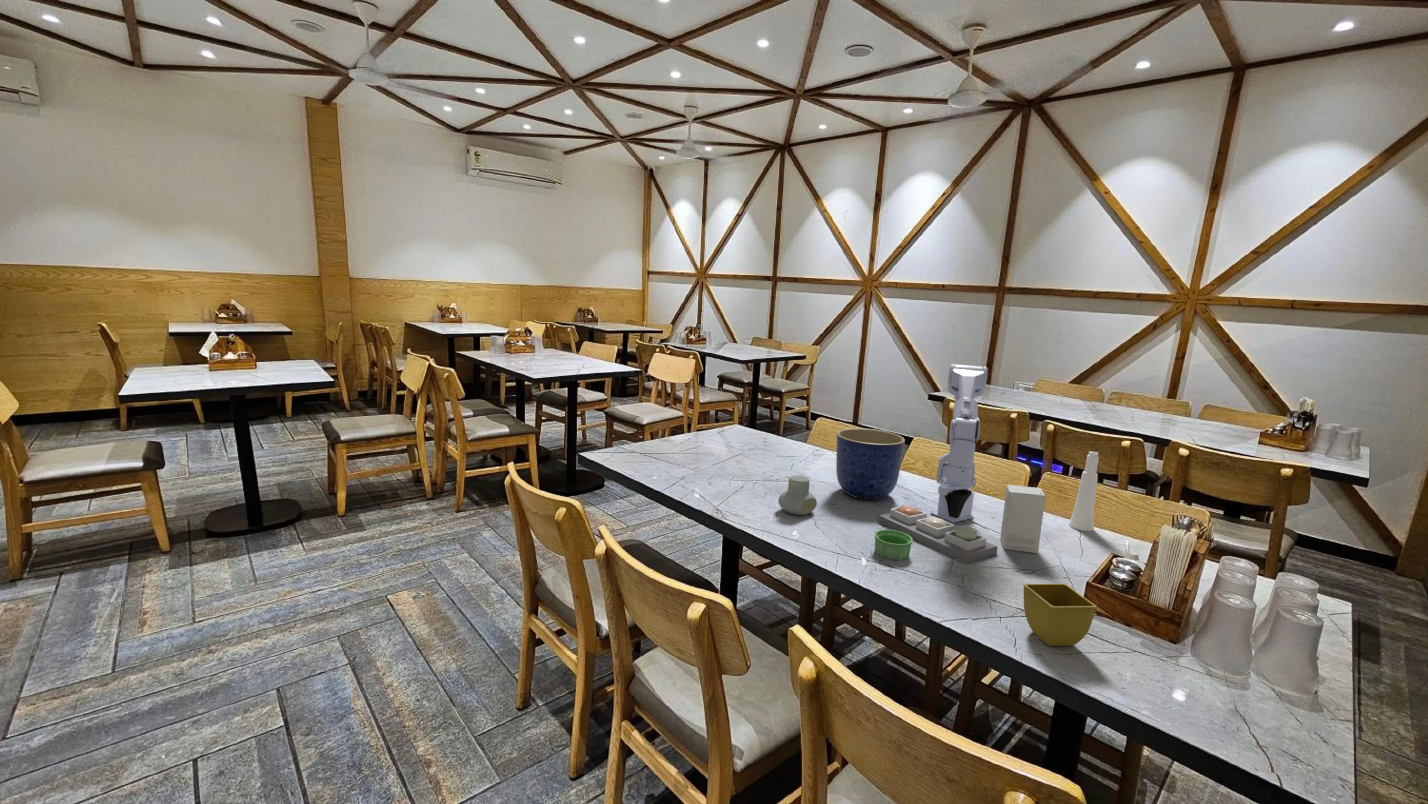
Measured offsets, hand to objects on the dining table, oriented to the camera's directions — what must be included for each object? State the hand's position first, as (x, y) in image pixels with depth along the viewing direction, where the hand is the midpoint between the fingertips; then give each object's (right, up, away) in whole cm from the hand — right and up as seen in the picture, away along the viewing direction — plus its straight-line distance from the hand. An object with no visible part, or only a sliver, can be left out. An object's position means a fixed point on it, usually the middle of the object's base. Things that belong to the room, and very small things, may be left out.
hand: (953, 516), depth 149 cm
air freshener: (-37, -3, +20) cm, 42 cm away
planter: (-13, 0, +38) cm, 40 cm away
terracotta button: (-7, -3, +13) cm, 15 cm away
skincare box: (+17, -8, +2) cm, 19 cm away
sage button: (+2, -5, -2) cm, 6 cm away
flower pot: (+2, -15, -39) cm, 42 cm away
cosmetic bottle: (+43, -7, +17) cm, 47 cm away
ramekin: (-17, -8, -5) cm, 20 cm away
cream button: (-3, -4, +5) cm, 7 cm away
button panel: (-3, -6, +6) cm, 9 cm away
